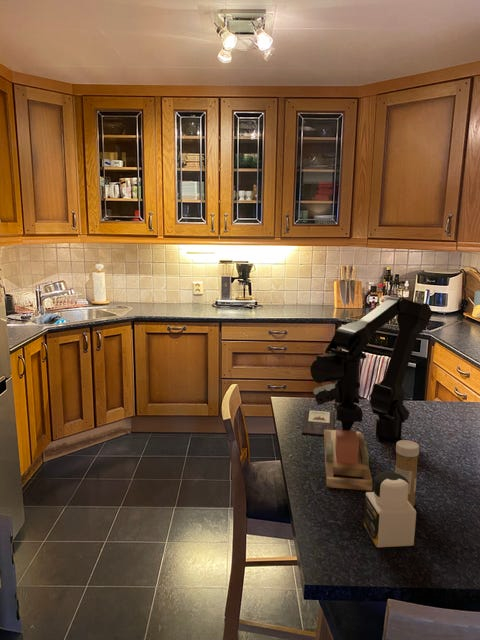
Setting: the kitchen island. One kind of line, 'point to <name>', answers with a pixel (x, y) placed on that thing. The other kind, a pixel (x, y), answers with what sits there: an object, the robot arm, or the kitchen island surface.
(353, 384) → the robot arm
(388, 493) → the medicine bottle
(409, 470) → the sprinkles bottle
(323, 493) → the kitchen island surface
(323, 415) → the chocolate bar
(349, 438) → the block
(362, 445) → the beige tray
